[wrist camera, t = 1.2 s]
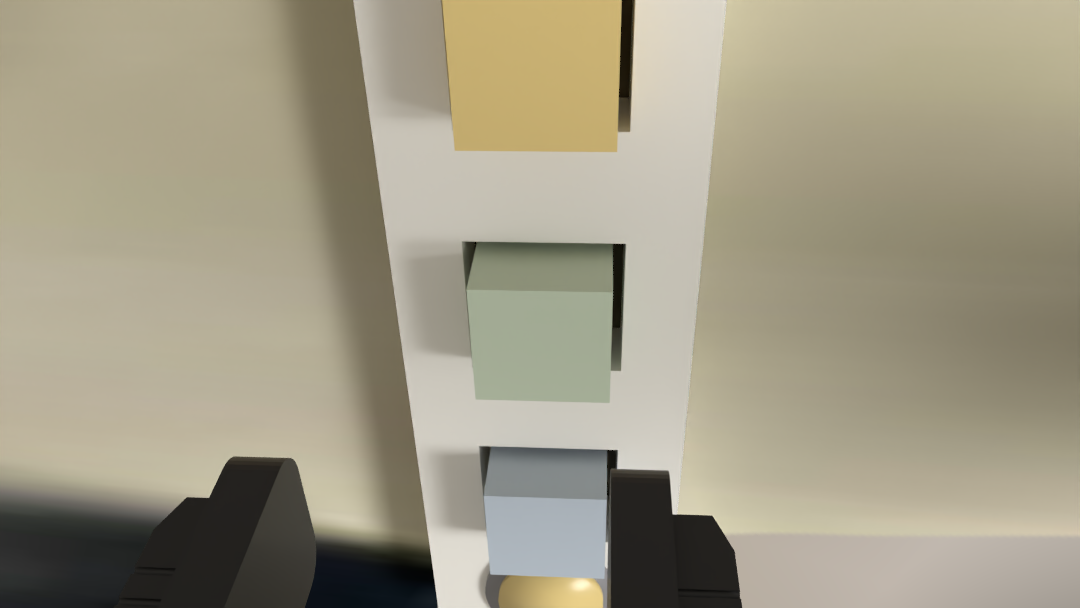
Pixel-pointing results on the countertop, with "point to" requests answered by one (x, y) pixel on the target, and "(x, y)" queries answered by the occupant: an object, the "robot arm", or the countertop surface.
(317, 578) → the countertop surface
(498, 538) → the slate button
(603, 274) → the sage button
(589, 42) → the ochre button
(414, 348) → the button panel
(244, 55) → the countertop surface
